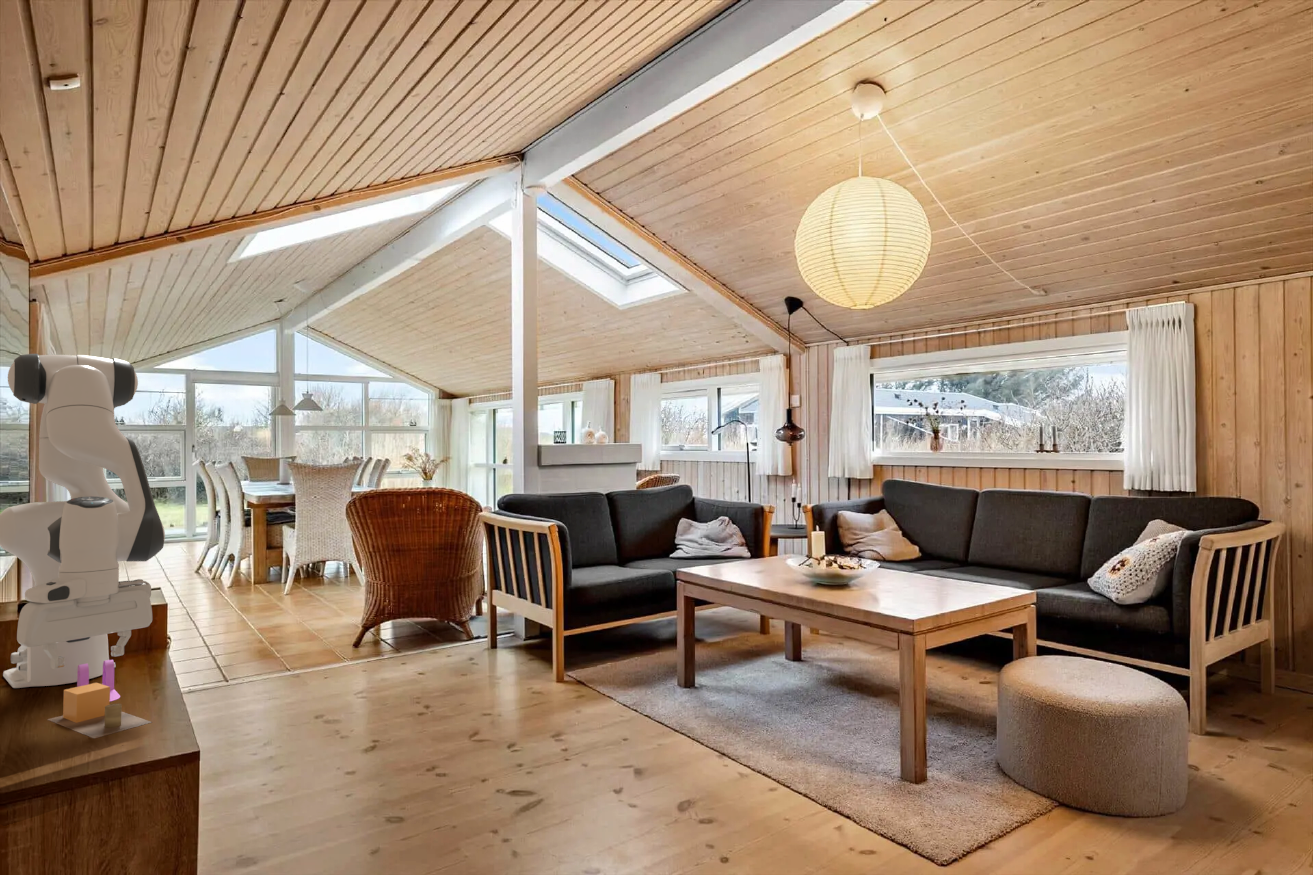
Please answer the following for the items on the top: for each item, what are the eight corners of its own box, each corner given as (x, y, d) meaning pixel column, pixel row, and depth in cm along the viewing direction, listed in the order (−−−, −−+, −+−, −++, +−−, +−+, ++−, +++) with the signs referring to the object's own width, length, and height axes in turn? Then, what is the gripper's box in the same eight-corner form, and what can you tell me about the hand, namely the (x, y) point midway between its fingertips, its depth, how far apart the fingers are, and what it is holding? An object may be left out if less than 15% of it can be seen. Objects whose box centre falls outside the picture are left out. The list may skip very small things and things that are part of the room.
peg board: (46, 726, 135) (47, 699, 135) (104, 711, 143) (104, 686, 143) (93, 745, 126) (94, 717, 126) (152, 729, 133) (152, 702, 134)
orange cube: (63, 717, 136) (63, 689, 136) (96, 709, 140) (96, 682, 140) (76, 722, 133) (76, 694, 133) (109, 714, 138) (110, 686, 138)
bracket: (76, 697, 152) (77, 663, 152) (110, 691, 155) (111, 658, 156) (87, 713, 142) (88, 676, 143) (122, 706, 146) (123, 670, 146)
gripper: (142, 576, 148) (142, 647, 147) (13, 592, 130) (12, 672, 130) (159, 578, 145) (158, 650, 144) (29, 595, 127) (27, 677, 126)
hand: (88, 661), depth 137 cm, fingers open, 8 cm apart
